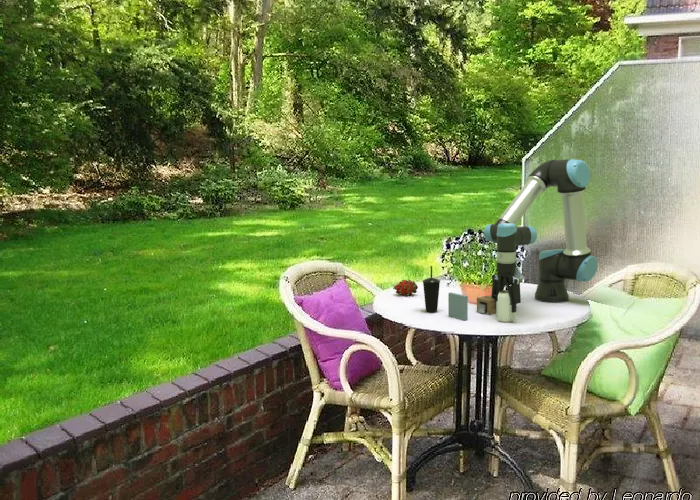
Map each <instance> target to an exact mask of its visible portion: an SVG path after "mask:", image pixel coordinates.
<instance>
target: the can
mask: <svg viewBox="0 0 700 500" xmlns="http://www.w3.org/2000/svg"><path fill="white" fill-rule="evenodd" d="M510 303H511V302H510V297H509V293H508V289H507V290H505V289H504V290H503V291H499V294H498V317H497V321H498V322H499V323H512V322H513V321H514V320H511V321H510V320H509V304H510Z"/></svg>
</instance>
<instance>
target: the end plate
mask: <svg viewBox="0 0 700 500" xmlns="http://www.w3.org/2000/svg"><path fill="white" fill-rule="evenodd" d="M447 295H448V297H447V298H448V317H450V318H453V319H457V320H461V321H464V322H465V321H468V317H469V316H468V313H469V312H468V309H469V307H468V303H469V302H468V299H469V298H468V295H463V294H460V293H455V292H452V291H451V292H448V293H447Z"/></svg>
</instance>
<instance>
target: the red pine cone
mask: <svg viewBox="0 0 700 500" xmlns="http://www.w3.org/2000/svg"><path fill="white" fill-rule="evenodd" d="M418 288H419V286H418V285H417V283H416V282H415V281H413V280H412V279H407V280H406V279H402V280H401V281H399V282H398V283H397V284H396V285H394V286H393V289H392V290H395V293H396V294H398V295H399V296H404V297H407V296H409V297H410V296H411V297H412V295H413V294H416V293H417V292H418Z"/></svg>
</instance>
